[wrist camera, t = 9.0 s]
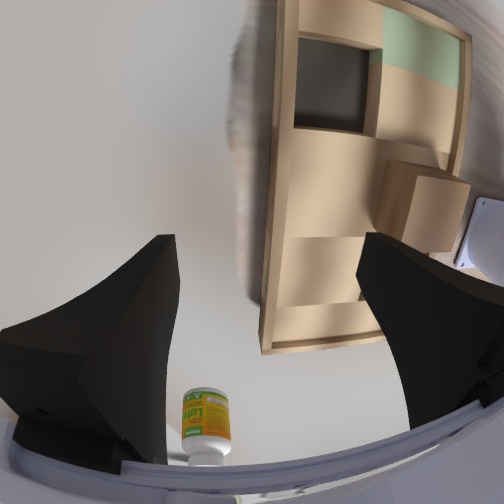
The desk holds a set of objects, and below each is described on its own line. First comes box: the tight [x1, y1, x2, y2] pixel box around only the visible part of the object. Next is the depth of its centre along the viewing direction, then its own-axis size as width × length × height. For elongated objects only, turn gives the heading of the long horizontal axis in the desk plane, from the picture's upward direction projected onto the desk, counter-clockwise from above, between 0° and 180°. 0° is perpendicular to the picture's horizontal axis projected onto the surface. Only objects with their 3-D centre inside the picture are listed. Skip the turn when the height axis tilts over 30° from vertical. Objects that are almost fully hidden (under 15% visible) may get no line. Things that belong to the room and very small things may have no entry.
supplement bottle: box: [182, 388, 231, 466], centre depth 27 cm, size 5×5×10 cm
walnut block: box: [373, 159, 471, 253], centre depth 16 cm, size 5×5×4 cm
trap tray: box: [258, 0, 472, 355], centre depth 18 cm, size 14×28×3 cm, turn 178°
